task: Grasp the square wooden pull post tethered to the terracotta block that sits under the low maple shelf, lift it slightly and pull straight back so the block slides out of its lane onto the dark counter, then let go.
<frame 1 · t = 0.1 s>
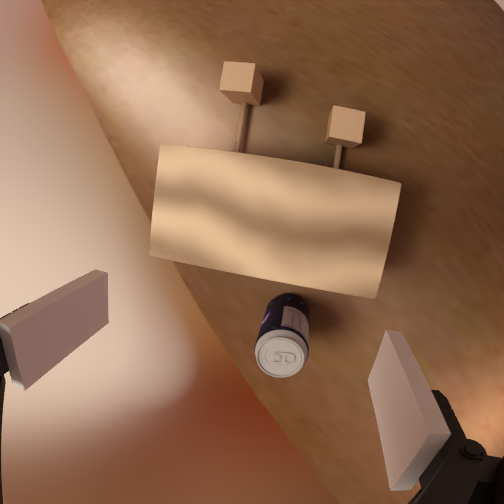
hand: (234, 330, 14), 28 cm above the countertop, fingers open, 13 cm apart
tether block terracotta: (232, 199, 41), on the countertop
beverage can: (287, 311, 43), on the countertop
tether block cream: (326, 215, 40), on the countertop
shelf: (279, 207, 40), on the countertop
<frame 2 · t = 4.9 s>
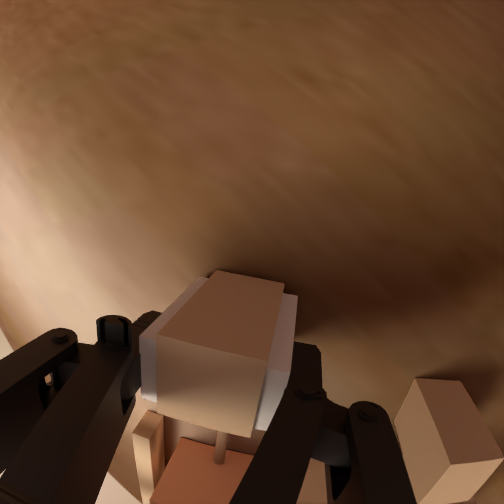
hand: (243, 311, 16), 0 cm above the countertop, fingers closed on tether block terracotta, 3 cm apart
tether block terracotta: (219, 471, 20), on the countertop, touching gripper
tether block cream: (368, 496, 19), on the countertop
shelf: (294, 492, 19), on the countertop
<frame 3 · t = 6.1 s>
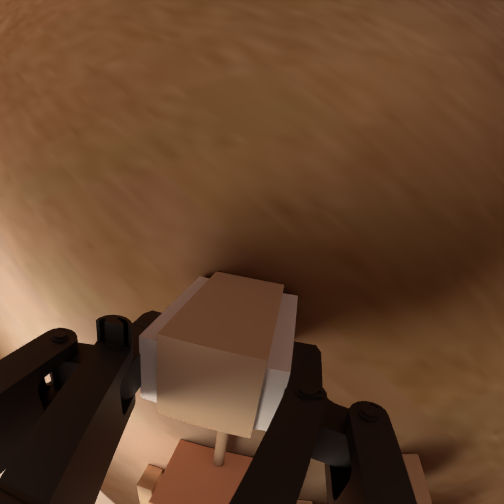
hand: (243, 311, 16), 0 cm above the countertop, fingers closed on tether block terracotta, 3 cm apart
tether block terracotta: (218, 474, 20), on the countertop, touching gripper
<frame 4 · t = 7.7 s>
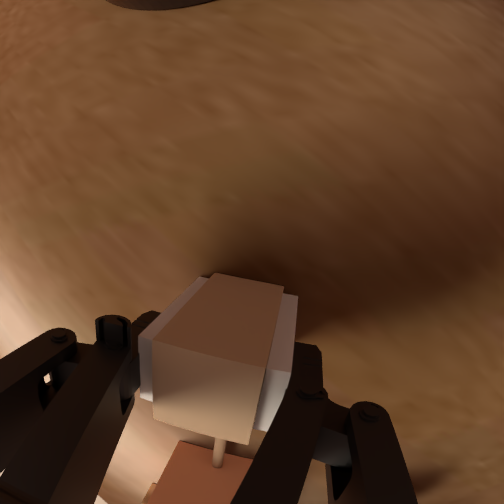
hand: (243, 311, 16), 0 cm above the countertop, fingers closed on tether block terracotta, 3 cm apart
tether block terracotta: (217, 475, 20), on the countertop, touching gripper
when the fingers open (0 cm above the countertop, at t = 9.1 s): tether block terracotta stays where it is, on the countertop.
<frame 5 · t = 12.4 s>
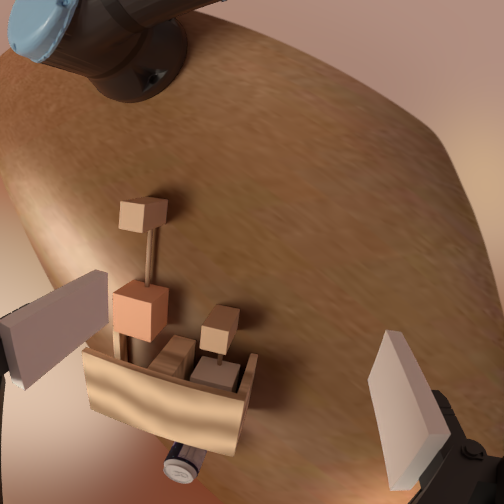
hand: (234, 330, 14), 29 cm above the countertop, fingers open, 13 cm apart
tether block terracotta: (150, 302, 47), on the countertop
beverage can: (199, 427, 52), on the countertop
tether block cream: (219, 375, 48), on the countertop
shelf: (183, 366, 49), on the countertop
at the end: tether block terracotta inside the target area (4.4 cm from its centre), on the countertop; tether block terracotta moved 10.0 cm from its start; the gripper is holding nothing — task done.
